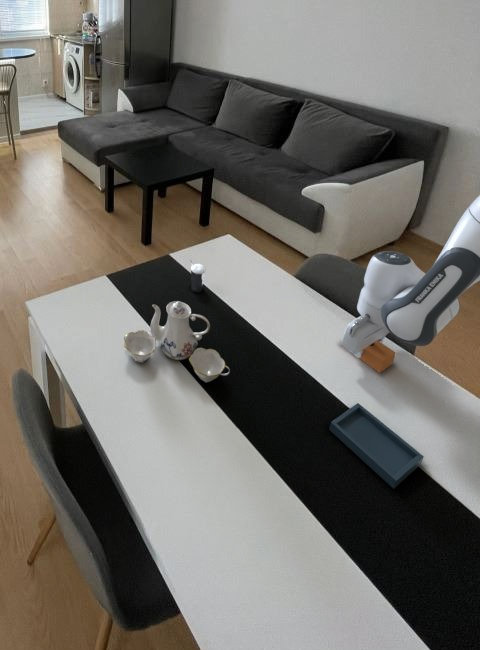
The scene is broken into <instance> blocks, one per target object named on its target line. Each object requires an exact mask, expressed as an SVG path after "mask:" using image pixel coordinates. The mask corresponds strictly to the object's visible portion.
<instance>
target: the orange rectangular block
mask: <svg viewBox="0 0 480 650" xmlns="http://www.w3.org/2000/svg"><path fill="white" fill-rule="evenodd" d="M341 346H342V347H343V345H342V344H341ZM363 351H364V354H363V356H362V357H361V358H359V359H360V360H361V361H362V362H364V363H365V364H366V365H368V366H369V367H371V368H372V369H374V370H375V371H376V372H378V373H379V374H381V372H383V371H384V370H386V369H388V368H389V367H390V366H393V363H394V360H395V357H396V353H397V352H395V351H394V350H393V349H391V348H390V347H388V346H387V345H385V344H384V343H383V342H382V343H381V342H379V341H378V340H377V341H375V342H374V343H372V344H371V345H369V346H368V347H366V348H365V349H363Z"/></svg>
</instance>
